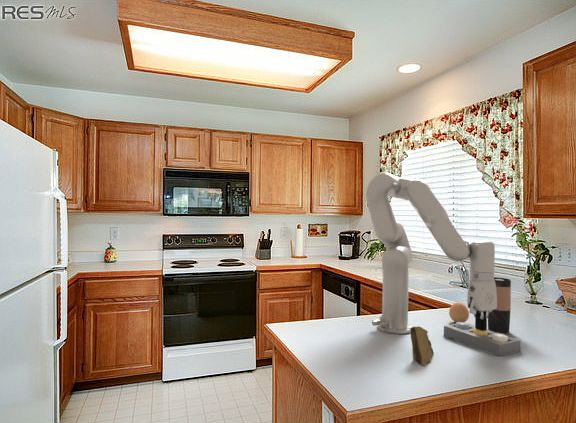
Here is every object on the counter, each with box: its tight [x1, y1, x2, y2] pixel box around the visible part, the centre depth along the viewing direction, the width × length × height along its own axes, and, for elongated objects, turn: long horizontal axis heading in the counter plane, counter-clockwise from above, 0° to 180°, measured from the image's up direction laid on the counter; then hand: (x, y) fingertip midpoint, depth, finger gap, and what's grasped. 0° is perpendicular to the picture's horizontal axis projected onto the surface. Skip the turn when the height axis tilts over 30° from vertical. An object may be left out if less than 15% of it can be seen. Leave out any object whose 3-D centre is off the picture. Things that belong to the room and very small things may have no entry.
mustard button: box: [473, 328, 488, 336], centre depth 127 cm, size 4×4×3 cm
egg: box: [448, 301, 470, 323], centre depth 150 cm, size 7×7×8 cm
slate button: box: [455, 322, 470, 330], centre depth 133 cm, size 4×4×3 cm
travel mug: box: [487, 276, 512, 335], centre depth 142 cm, size 8×8×20 cm
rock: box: [410, 326, 435, 367], centre depth 111 cm, size 11×9×10 cm
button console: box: [443, 323, 522, 357], centre depth 127 cm, size 11×21×4 cm, turn 27°
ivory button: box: [492, 333, 508, 343], centre depth 120 cm, size 4×4×3 cm
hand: (480, 329), depth 127 cm, fingers closed
